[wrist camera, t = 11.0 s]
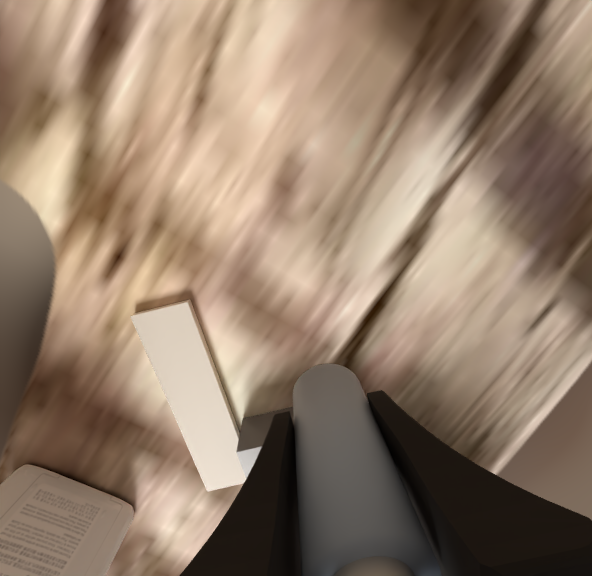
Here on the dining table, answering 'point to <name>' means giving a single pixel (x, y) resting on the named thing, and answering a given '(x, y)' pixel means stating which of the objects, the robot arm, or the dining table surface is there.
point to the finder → (254, 437)
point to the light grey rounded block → (58, 525)
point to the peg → (351, 485)
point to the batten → (192, 390)
